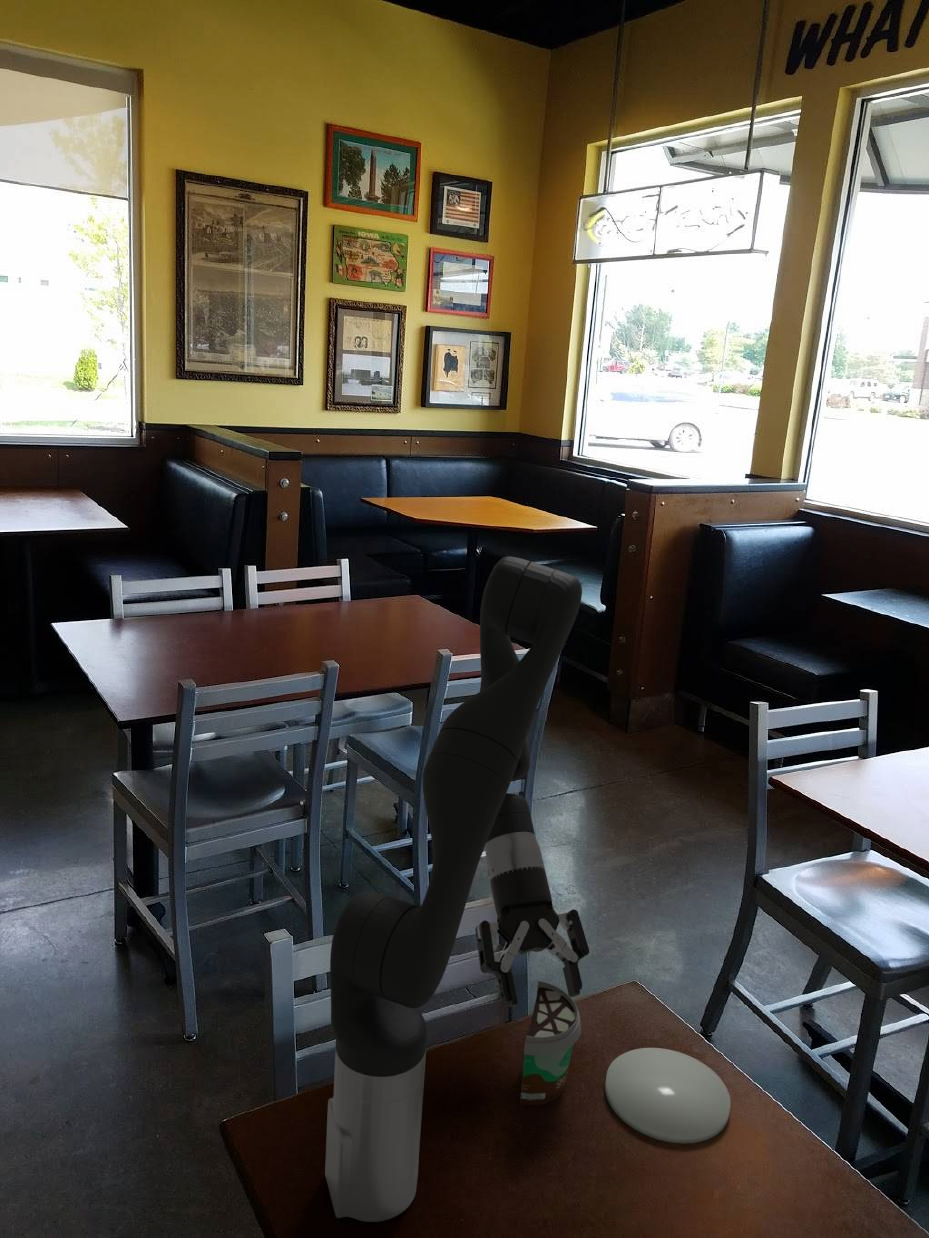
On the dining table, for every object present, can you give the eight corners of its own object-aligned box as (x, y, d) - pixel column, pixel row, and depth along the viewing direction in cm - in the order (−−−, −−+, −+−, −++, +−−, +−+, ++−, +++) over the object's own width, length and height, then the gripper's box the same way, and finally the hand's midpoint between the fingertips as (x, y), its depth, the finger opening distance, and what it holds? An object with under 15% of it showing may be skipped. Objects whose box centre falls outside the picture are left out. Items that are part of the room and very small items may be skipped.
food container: (569, 1122, 114) (578, 1048, 112) (518, 1112, 115) (525, 1038, 113) (579, 1054, 126) (586, 986, 124) (532, 1045, 127) (538, 978, 125)
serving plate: (642, 1154, 110) (644, 1145, 110) (584, 1066, 124) (585, 1058, 123) (754, 1129, 115) (755, 1120, 115) (686, 1047, 129) (687, 1039, 128)
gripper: (475, 870, 124) (500, 1003, 116) (575, 859, 129) (607, 986, 121) (458, 887, 130) (482, 1014, 122) (555, 876, 135) (584, 998, 127)
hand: (544, 1000), depth 122 cm, fingers open, 8 cm apart
